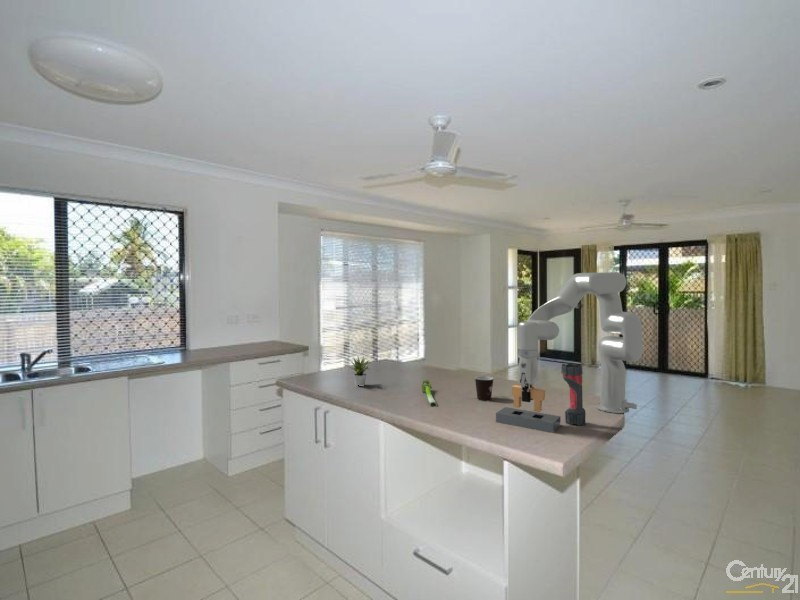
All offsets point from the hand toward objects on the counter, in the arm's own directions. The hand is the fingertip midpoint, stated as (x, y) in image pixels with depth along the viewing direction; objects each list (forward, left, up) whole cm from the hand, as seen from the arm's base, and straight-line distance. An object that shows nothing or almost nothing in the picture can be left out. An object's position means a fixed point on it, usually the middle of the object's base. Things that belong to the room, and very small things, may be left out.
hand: (527, 400), depth 162 cm
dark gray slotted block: (0, 0, -9) cm, 9 cm away
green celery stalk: (+51, -12, -10) cm, 54 cm away
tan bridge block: (0, 0, -3) cm, 3 cm away
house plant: (+94, -10, -9) cm, 95 cm away
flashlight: (-14, -10, -9) cm, 20 cm away
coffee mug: (+28, -25, -9) cm, 39 cm away
